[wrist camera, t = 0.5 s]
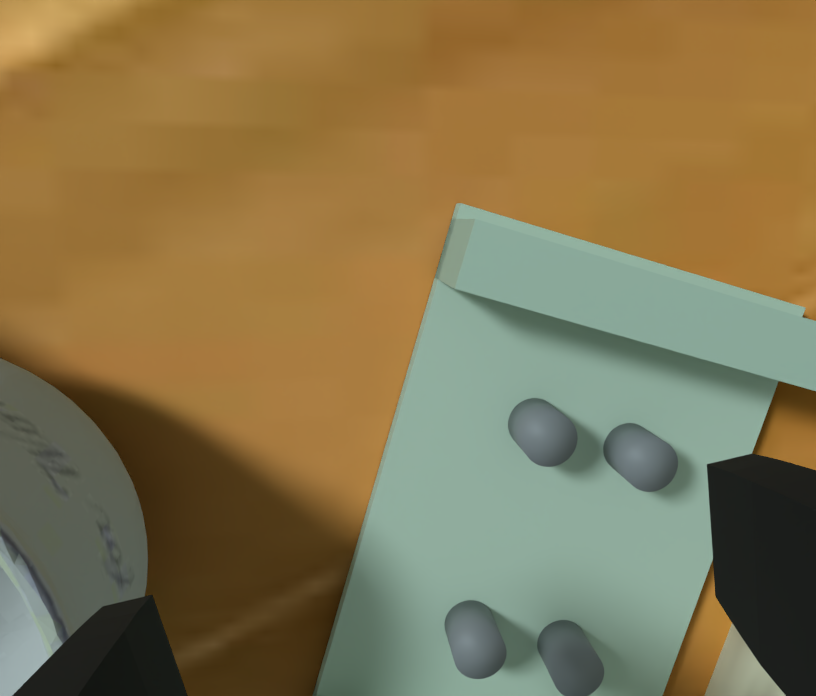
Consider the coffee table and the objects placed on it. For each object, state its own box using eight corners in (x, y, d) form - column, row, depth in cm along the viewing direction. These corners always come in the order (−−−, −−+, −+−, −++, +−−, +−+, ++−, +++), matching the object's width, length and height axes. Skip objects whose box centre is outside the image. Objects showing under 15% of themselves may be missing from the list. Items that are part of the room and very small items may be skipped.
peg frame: (611, 796, 23) (654, 883, 20) (299, 741, 21) (294, 827, 18) (791, 305, 20) (870, 320, 17) (456, 203, 19) (480, 200, 16)
